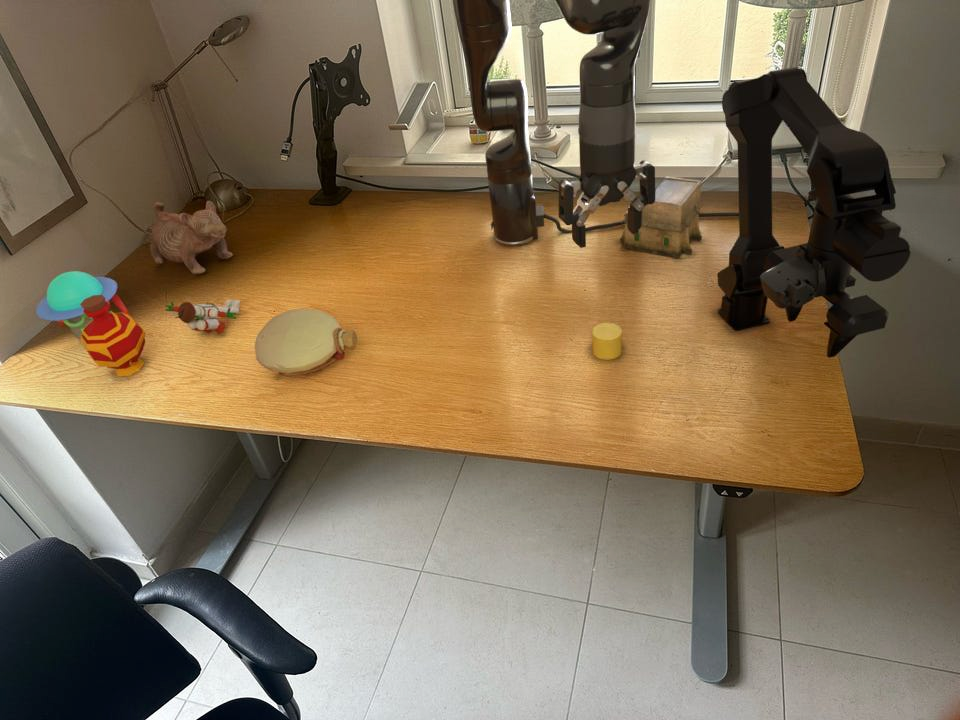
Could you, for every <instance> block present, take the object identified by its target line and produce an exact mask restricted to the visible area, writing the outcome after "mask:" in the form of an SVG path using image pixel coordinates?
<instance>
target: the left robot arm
mask: <svg viewBox="0 0 960 720" xmlns="http://www.w3.org/2000/svg"><path fill="white" fill-rule="evenodd" d="M554 2H555V4H556V5H557V7H558V9H559V11H560V13H561V16H562V17H563V19H564V21H565V23H566V24H567V25H568V27H570V28H571V29H572V30H574V31H575V32H577V33H578V34H582V35H585V36H595V35H599V34H601V33H602V36H601V40H600V41H599V42H598V44H597V45H595V47H593V48H592V49H590V50H589V51H587V52H586V53H584V55H583V56H582V57H581V59H580V62H579V111H578V128H577V133H578V144H579V147H578V148H579V149H578V151H579V169H580V173H579V177H578V178H577V180H573V181H567V180H566V179H561V180H560V181H559V182H558V218H559V219H560V220H561V221H562V222H563V223H564V225H566V226H571V230H570V229H566V228H563V227H562V226H561V223H560V221H559V220H558V219H557V218H556V217H553V216H551V215H548V214H546V213H544V206H543V204H539V205H536V204H537V203H536V197H535V195H534V186H533V185H534V183H533V182H534V181H533V172H532V171H533V169H532V157H531V156H532V155H531V147H530V146H531V145H530V134H529V133H530V132H529V131H530V129H529V96H528V89H527V85H526V83H525V82H524V81H523V79H521V78H512V79H500V80H491V81H490V80H489V81H488V78H489V76H490V72H491V71H492V68H493V66H494V65H495V63H496V61H498V59H499V57H500V55H501V54H502V52H503V51H504V49H505V47H506V45H507V43H508V41H509V39H510V36H511V33H512V27H513V26H512V25H513V24H512V14H511V5H510V4H511V3H510V0H452V5H453V12H454V16H455V23H456V27H457V31H458V36H459V40H460V44H461V48H462V53H463V57H464V62H465V67H466V73H467V80H468V87H469V95H470V106H471V110H472V111H471V112H472V116H473V117H472V118H473V121H474V124H475V126H476V127H477V129H478V130H479V131H481V132H486V133H487V132H489V133H491V132H504V131H512V132H510V133H509V134H508V135H507V136H506V137H504V138H503V139H501V140H498V141H496V142H494V143H493V144H491V145H490V146H488V147H487V148H486V150H485V154H484V155H485V157H484V158H485V166H486V175H487V182H488V183H487V184H488V191H489V200H490V201H489V202H490V210H491V216H492V217H491V218H492V219H491V220H492V221H491V223H490V228H491V230H493V239H494V241H495V242H496V243H497V244H498V245H502V246H505V247H519V246H524V245H526V244H529V243H531V242H532V241H536V240H539V233H538V228H541V227H545V219H546V220H548V221H552V222H553V223H555V225H556V229H557V230H558V231H559V232H561V233H563V234H571V239H572V241H573V242H574V244H576V246H578V247H579V248H580V249H583V248H586V247H587V235H586V234H587V233H586V232H591V231H595V230H601V229H607V228H614V227H619V226H625V223H622V221H623V220H620V221H614V222H610V223H605V224H598V225H592V226H587V227H586V224H585V223H586V222H587V220H588V219H589V216H590V215H593V214H594V212H595V211H596V209H597V207H598V206H599V207H602V206H606V205H608V204H609V203H619V202H621V199H624V200H625V201H626V202H627V203H628V204H629V206H627V209H628V223H627V227H628V230H629V231H630V232H631V233H632V234H637V233H638V229H640V228H641V225H642V210H643V208H644V207H645V206H646V205H648V204H653V203H654V202H655V190H656V167H655V166H654V165H653V164H652V163H650V162H648V161H647V160H646V159H643V160H641V161H639V163H638V164H637V165H634V164H635V161H636V157H635V156H636V125H637V123H636V121H637V120H636V119H637V115H636V102H635V80H636V79H635V77H636V76H635V75H636V71H635V70H636V68H635V67H636V61H637V58H638V55H639V53H640V48H641V44H642V40H643V36H644V33H645V29H646V25H647V21H648V18H649V13H650V8H651V0H554ZM636 177H637V178H638V179H639V195H637V194H635V192H634V191H633V190H632V189H631V188H630V187H631V185H632V184H633V182H634V181H635V179H636ZM579 190H581V191H582V192H581V193H580V194H579V197H578V198H577V200H576V205H575V207H574V198H576V197H577V193H578V191H579ZM588 201H589V202H588ZM711 217H712V218H714V217H717V218H718V217H739V212H700V213H699V217H698V218H711Z"/></svg>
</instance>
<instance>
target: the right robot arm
mask: <svg viewBox="0 0 960 720" xmlns="http://www.w3.org/2000/svg"><path fill="white" fill-rule="evenodd" d="M721 108H722V112H723V114H724V120H725V127H726V128H727V130H728V131H729V133H730V134H731V136H732V137H733V138H734V140H735V142H736V144H737V179H738V182H737V183H738V213H739V216H738V223H739V224H738V225H739V226H738V227H739V229H738V230H739V231H738V232H739V234H738V237H737V239H736V241H735V242H734V244H733V246H732V247H731V249H730V251H729V255H728V266H726V267H725V268H723V269H721V270H720V271H719V272H717V274H716V275H717V276H716V277H717V286H718V287H719V288H720V290H721V291H722V292H723V293H724V295H722V296H721V304H720V308H718V309H717V311H716V312H717V314H718V315H719V316H720V317H721V318H722V319H723V320H724V322H726V324H728V325H729V327H730V328H732V330H733V331H735V332H740V331H744V330H748V329H751V328H756V327H760V326H764V325H768V324H770V322H771V320H770V318H769V317H768V316H766V311H767V304H768V299H769V301H771V302H772V303H773V304H774V305H775V306H776V308H779V309H785V312H786V318H787V321H788V322H789V323H790V322H794V321H795V322H796V320H797V319H798V317H799V315H800V313H801V311H802V309H803V307H804V305H806V304H808V303H810V302H812V301H814V299H815V298H816V299H817V298H819V297H823V298H824V299H825V300H826V301H827V302H828V303H830V305H831V306H830V307H829V308H828V309H827V313H826V316H825V317H826V321H824V322H823V325H824V326H825V327H826V328H827V329H829V336H828V342H827V348H826V356H827V358H834V357H836V356H837V355H838V354H839V353H840V352H842V351H843V349H845V348H846V346H848V345H849V344H850V343H851V341H853V340H854V339H855V338H856V337H857V336H859V335H862V334H867V333H870V332H874V331H878V330H882V329H885V328H886V324H887V321H888V318H889V314H890V312H889V311H888V310H887V309H886V308H885V307H883V306H882V305H880V304H879V303H878V302H876V301H875V300H874V298H871V297H870V296H869V295H868V294H864V295H860V296H856V297H853V296H852V295H850V294H849V293H848V292H847V291H845V290H846V288H851V287H855V285H856V281H857V278H855V277H854V276H852V275H851V271H852V268H853V270H855V271H857V272H858V273H859V274H860V275H861V276H862V277H863V278H864V279H866V280H867V281H870V282H876V283H877V282H882V281H886V280H889V279H891V278H892V277H894V276H896V274H898V273H899V272H901V271H902V269H903V268H904V267H905V266H906V264H907V263H908V262H909V259H910V257H911V249H910V244H909V242H908V240H907V239H905V238H904V237H903V236H901V235H900V234H901V231H902V227H901V226H900V225H899V224H897V222H894V221H891V220H889V219H888V218H887V217H886V216H884V215H883V212H885V211H891V210H895V209H896V206H897V204H896V198H895V194H896V193H897V191H896V188H895V184H894V181H893V178H892V174H891V170H890V169H891V168H890V162H889V158H888V156H887V154H886V151H885V149H884V148H883V146H882V145H880V144H879V142H877V141H876V140H874V139H873V138H872V137H871V136H869V134H866V133H865V132H862V131H859V130H855V129H852V128H849V127H847V126H846V125H845V124H844V123H842V121H841V120H840V119H839V118H838V116H837V115H836V114H835V113H834V111H833V110H832V109H831V108H830V107H829V105H828V104H827V103H826V102H825V100H824V99H823V98H822V97H821V95H820V94H819V93H818V92H817V91H816V89H814V87H813V86H812V85H811V84H810V82H809V81H808V76H807V73H806V71H805V69H804V68H801V67H800V68H799V67H797V66H793V67H787V68H782V69H775V70H769V71H768V72H767V73H764V74H762V75H760V76H758V77H755V78H750V79H743V80H737V81H733V82H731V84H729V86H728V89H727V90H726V91H724V93H723V95H722V98H721ZM782 122H784V123H785V125H786V127H787V128H788V130H789V131H790V133H792V135H793V137H794V138H795V139H796V140H797V142H798V143H799V145H800V146H801V148H803V150H804V151H805V153H806V155H807V157H808V160H807V166H806V174H807V175H808V177H809V179H810V181H811V184H812V186H813V189H811V190H809V191H808V193H807V194H808V197H809V198H810V199H812V200H813V201H814V202H815V205H814V210H813V214H812V220H811V224H810V231H809V235H808V240H807V242H805V243H800V244H797V245H793V246H789V247H785V246H784V245H780V243H779V242H778V240H777V239H776V238H775V236H774V235H773V233H774V232H773V138H774V136H775V134H776V133H777V132H778V129H779V128H780V126H781V124H782ZM869 191H874V193H875V194H873V195H867V196H861V197H855V196H853V194H859V193H864V192H869Z"/></svg>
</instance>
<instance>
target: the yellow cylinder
mask: <svg viewBox="0 0 960 720" xmlns="http://www.w3.org/2000/svg"><path fill="white" fill-rule="evenodd" d="M591 334H592V335H591V337H592V343H591V344H592V355H594V356H595V357H596V358H598V359H600V360H608V361H609V360H610V361H611V360H614V359H617V358H618V357H619V356H621V354H622V352H623V351H622V350H623V349H622V348H623V347H622V346H623V330H622V328H621V326H620V325H618V324H615V323H612V322H602V323H599V324H597V325H595V326H594V327H593V328H592V331H591Z"/></svg>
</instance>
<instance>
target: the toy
mask: <svg viewBox="0 0 960 720" xmlns="http://www.w3.org/2000/svg"><path fill="white" fill-rule="evenodd" d="M240 305H241V301H240V300H238V299H231V298H228V299H226V300H225V304H224V306H219V305H216V303H214V302H209V301H208V302H207V301H206V303H198V304H197V303H196V304H195V303H194V304H192V302H190V301H185V302H182V303H181V304H180V305H179V306H177V305H176V306H175V304H174V302H173V301H170V305H169V304H166V305H165V307H166V308H165V309H164V311H166V312H174V313H172V314H171V315H169V317H171V318H172V317H174V318H175V319H179V320H180V321H181V322H182V323H185V324H186V325H187V327H188V328H189V329H190V330H192V331H195V332H204V333H208V334H209V333H211V332H212V331H215V332H216V334H217V335H218V334H223V333H224V331H225V329H226V327H227V326H226V325H227V324H226V322H225V321H219V320H218V319H220V318H223V319H224V318H225V319H233V320H236V319H237V317H236V315H238V314H240ZM216 318H217V319H216Z"/></svg>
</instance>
